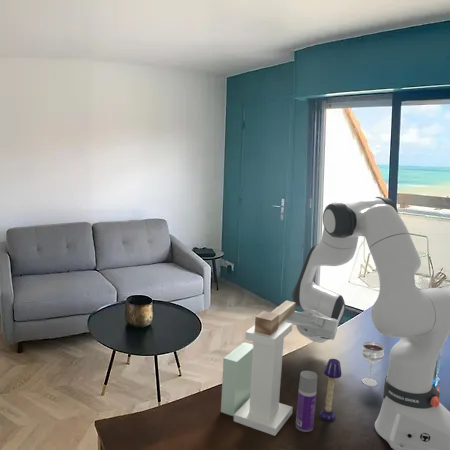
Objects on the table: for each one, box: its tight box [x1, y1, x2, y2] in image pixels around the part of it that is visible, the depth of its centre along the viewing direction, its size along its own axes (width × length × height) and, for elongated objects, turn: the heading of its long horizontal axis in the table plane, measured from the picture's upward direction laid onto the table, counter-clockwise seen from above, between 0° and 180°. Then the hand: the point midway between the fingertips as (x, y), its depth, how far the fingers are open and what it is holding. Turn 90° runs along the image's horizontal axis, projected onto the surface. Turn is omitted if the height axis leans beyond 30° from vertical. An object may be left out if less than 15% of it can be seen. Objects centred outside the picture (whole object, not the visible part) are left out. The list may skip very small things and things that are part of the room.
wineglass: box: [361, 341, 385, 387], centre depth 161 cm, size 7×7×12 cm
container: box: [295, 370, 319, 433], centre depth 136 cm, size 5×5×15 cm
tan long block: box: [254, 300, 296, 335], centre depth 139 cm, size 4×19×4 cm, turn 152°
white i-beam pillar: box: [233, 321, 294, 436], centre depth 138 cm, size 12×12×26 cm
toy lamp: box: [318, 358, 343, 422], centre depth 141 cm, size 5×5×17 cm
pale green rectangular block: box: [220, 341, 253, 417], centre depth 145 cm, size 4×12×16 cm, turn 152°
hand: (299, 315), depth 156 cm, fingers open, 8 cm apart
